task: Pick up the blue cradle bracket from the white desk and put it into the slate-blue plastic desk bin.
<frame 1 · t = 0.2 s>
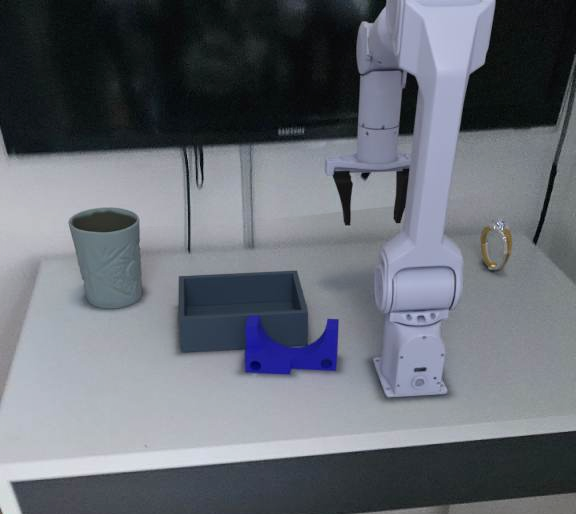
hand: (372, 222, 115), 10 cm above the table, tool pointing down, fingers open, 7 cm apart
ring: (490, 270, 126), on the table
embossed grey cup: (116, 297, 119), on the table
desk bin: (242, 326, 111), on the table
blue cradle bracket: (291, 367, 103), on the table
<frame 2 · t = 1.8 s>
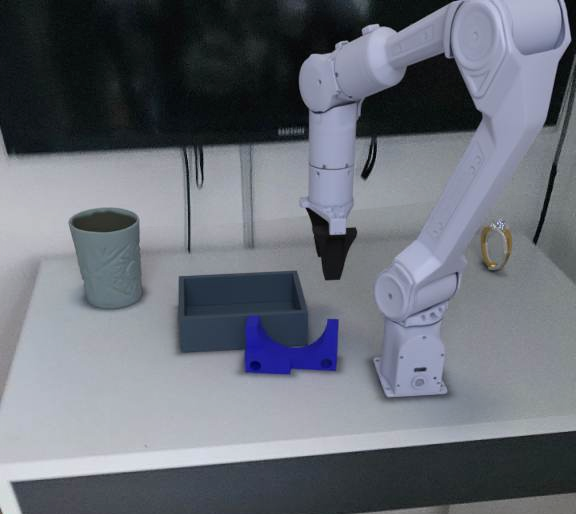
hand: (328, 267, 104), 9 cm above the table, tool pointing down, fingers open, 7 cm apart
nothing on the table moved.
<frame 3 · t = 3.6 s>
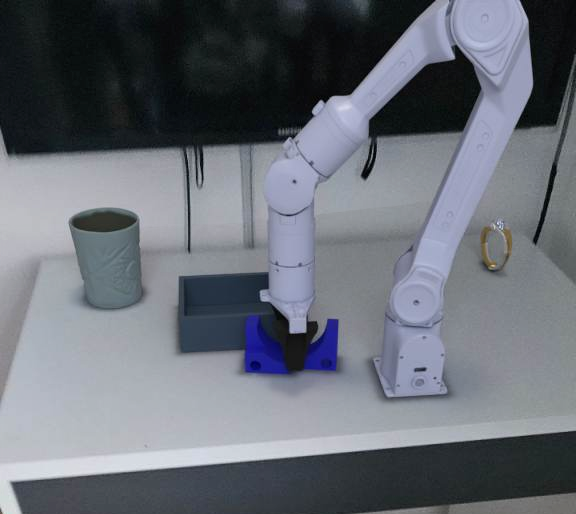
hand: (291, 356, 102), 1 cm above the table, tool pointing down, fingers open, 6 cm apart
nothing on the table moved.
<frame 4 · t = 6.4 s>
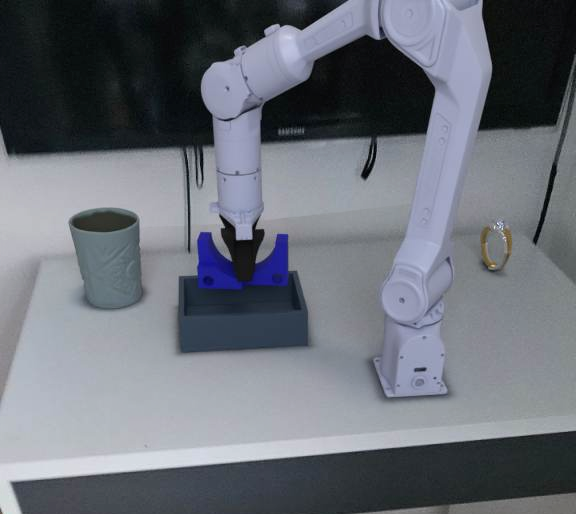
hand: (243, 271, 105), 9 cm above the table, tool pointing down, fingers closed on blue cradle bracket, 5 cm apart
blue cradle bracket: (244, 283, 106), point 7 cm above the table, touching gripper
everything else where it was.
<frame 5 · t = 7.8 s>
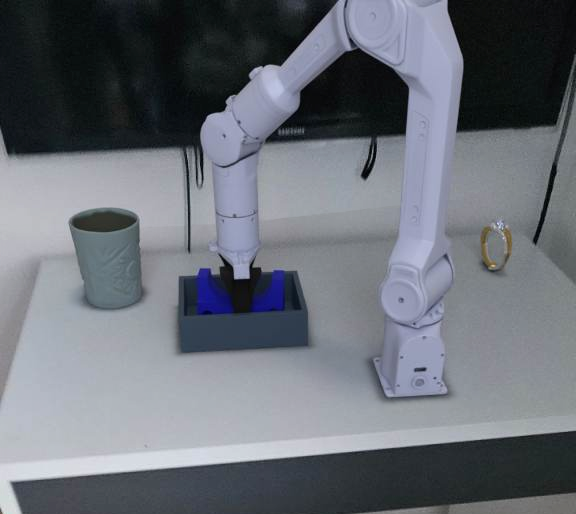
hand: (241, 305, 109), 3 cm above the table, tool pointing down, fingers closed on blue cradle bracket, 5 cm apart
blue cradle bracket: (242, 316, 110), point 2 cm above the table, touching gripper
everything else where it was.
when the fingers open (2 cm above the table, at t = 8.6 s): blue cradle bracket stays where it is, resting on desk bin.
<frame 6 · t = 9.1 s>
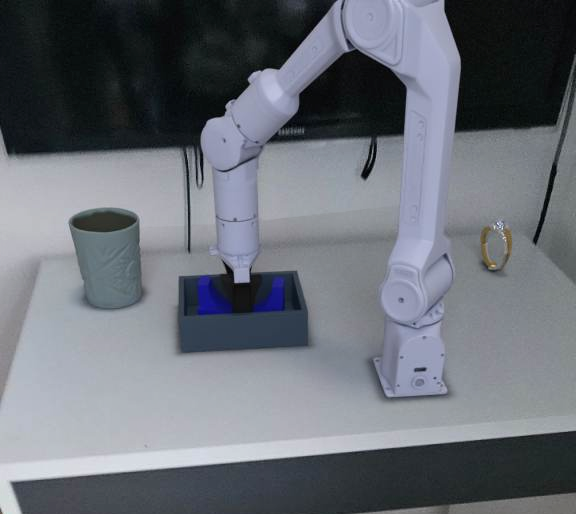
hand: (241, 309, 110), 3 cm above the table, tool pointing down, fingers open, 7 cm apart
blue cradle bracket: (242, 324, 111), resting on desk bin
everything else where it was.
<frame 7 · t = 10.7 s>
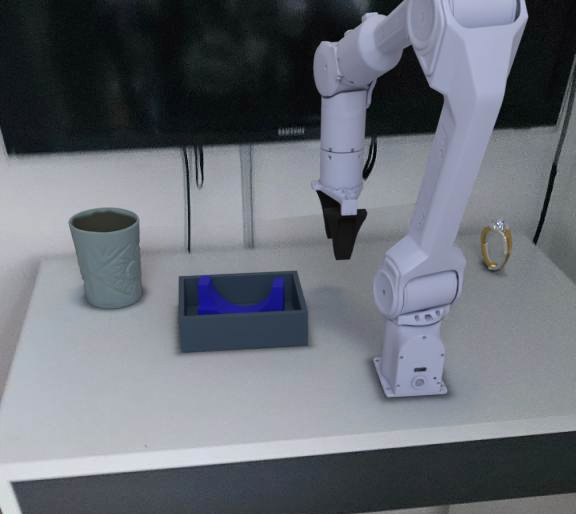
hand: (338, 248, 109), 9 cm above the table, tool pointing down, fingers open, 7 cm apart
nothing on the table moved.
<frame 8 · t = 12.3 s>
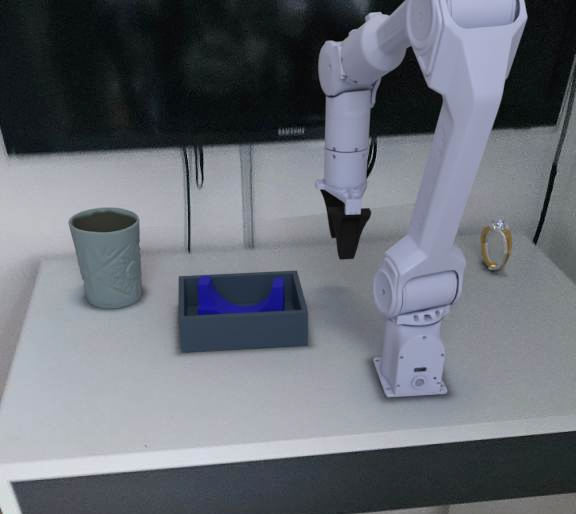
hand: (342, 247, 109), 9 cm above the table, tool pointing down, fingers open, 7 cm apart
nothing on the table moved.
at the end: blue cradle bracket inside the target area in the desk bin (0.2 cm from its centre), point 0.4 cm above the desk bin's base; the gripper is holding nothing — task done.
